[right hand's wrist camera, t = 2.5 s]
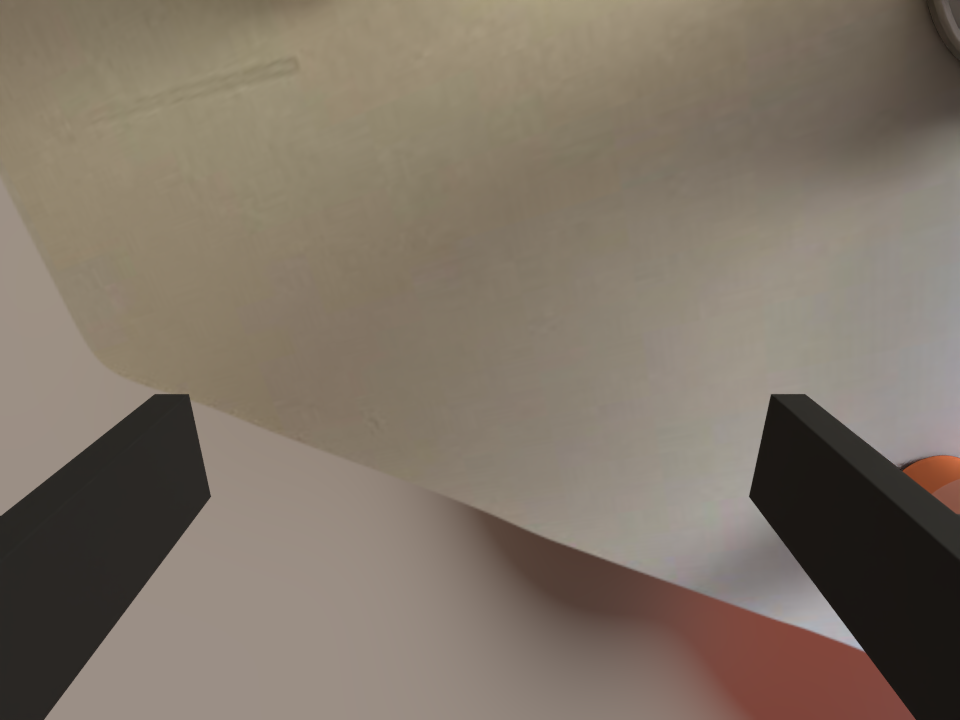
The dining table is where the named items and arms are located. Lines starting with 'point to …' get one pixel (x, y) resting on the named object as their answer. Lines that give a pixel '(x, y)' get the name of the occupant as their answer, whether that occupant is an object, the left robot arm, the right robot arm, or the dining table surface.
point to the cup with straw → (939, 478)
